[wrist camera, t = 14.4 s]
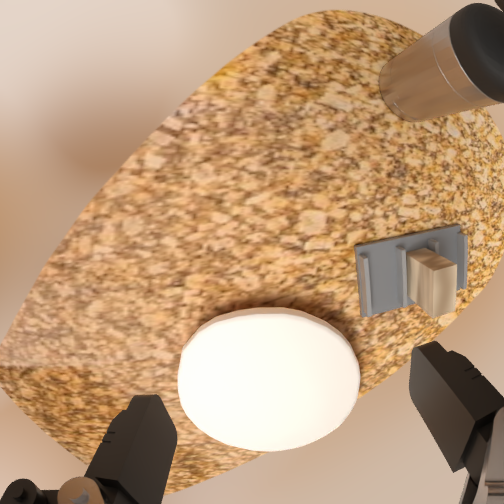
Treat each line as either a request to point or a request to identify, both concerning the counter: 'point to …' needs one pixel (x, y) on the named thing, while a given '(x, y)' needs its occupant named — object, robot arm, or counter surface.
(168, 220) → the counter surface
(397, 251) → the rack
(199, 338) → the plate
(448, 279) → the block
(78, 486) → the robot arm
